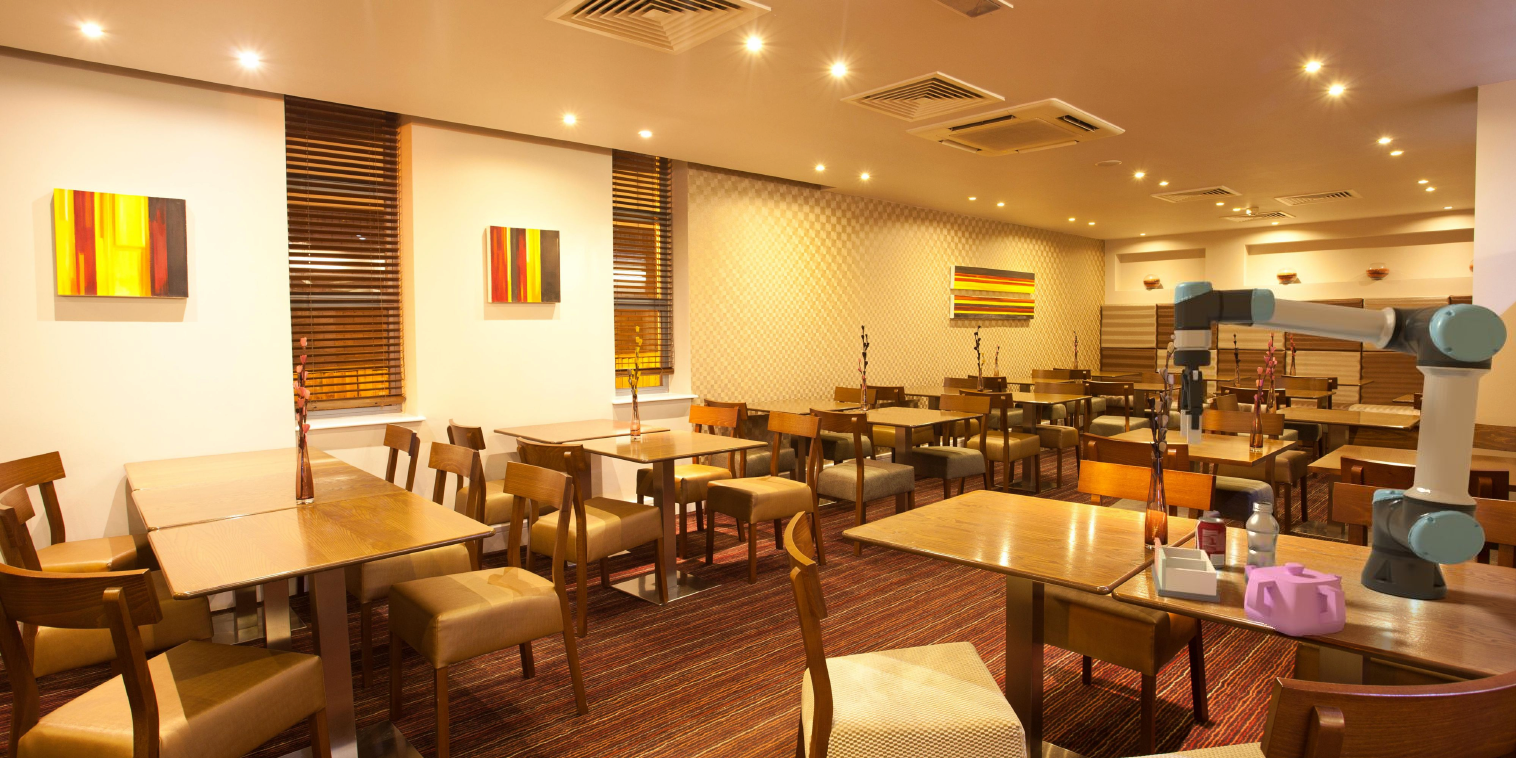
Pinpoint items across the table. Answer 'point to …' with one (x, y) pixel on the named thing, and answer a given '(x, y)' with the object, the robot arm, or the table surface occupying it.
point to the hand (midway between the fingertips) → (1190, 440)
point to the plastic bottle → (1261, 537)
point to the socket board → (1184, 574)
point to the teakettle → (1295, 599)
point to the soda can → (1212, 540)
